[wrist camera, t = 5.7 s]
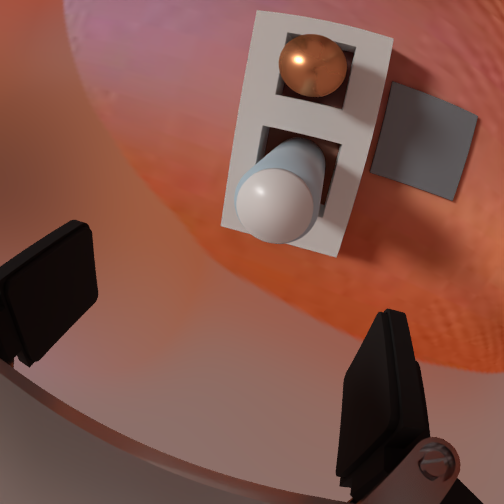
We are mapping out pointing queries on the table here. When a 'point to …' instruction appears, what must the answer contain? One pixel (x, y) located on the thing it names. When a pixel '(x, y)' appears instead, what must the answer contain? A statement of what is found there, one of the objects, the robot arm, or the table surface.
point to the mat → (423, 141)
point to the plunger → (312, 65)
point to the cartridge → (282, 192)
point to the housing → (309, 116)
